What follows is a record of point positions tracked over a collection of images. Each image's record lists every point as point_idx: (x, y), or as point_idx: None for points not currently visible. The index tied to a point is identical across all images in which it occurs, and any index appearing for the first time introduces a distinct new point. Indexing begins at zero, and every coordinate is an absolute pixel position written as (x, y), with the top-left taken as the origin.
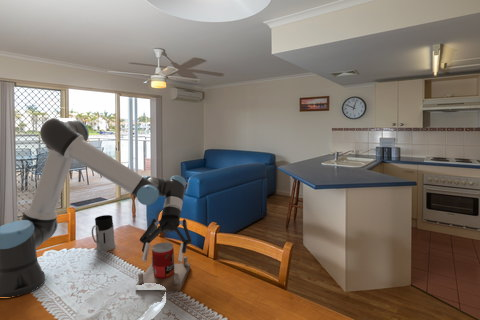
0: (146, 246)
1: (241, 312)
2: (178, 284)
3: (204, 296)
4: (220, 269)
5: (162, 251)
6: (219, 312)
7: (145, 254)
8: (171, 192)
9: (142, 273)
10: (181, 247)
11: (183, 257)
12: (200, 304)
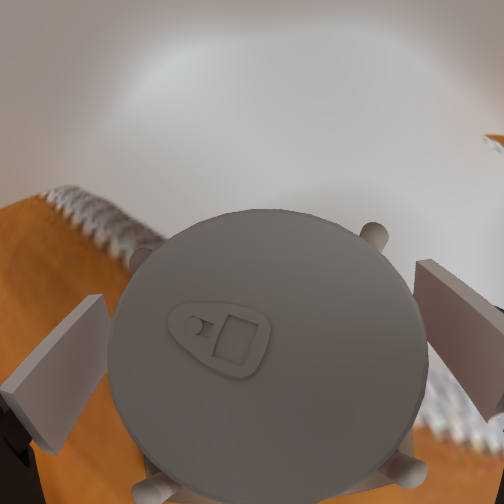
0: (494, 320)
1: (7, 213)
2: None
3: (67, 259)
4: None
5: (212, 224)
6: (43, 200)
7: (440, 290)
8: None
9: (367, 241)
10: (32, 358)
11: (157, 495)
12: (80, 218)
